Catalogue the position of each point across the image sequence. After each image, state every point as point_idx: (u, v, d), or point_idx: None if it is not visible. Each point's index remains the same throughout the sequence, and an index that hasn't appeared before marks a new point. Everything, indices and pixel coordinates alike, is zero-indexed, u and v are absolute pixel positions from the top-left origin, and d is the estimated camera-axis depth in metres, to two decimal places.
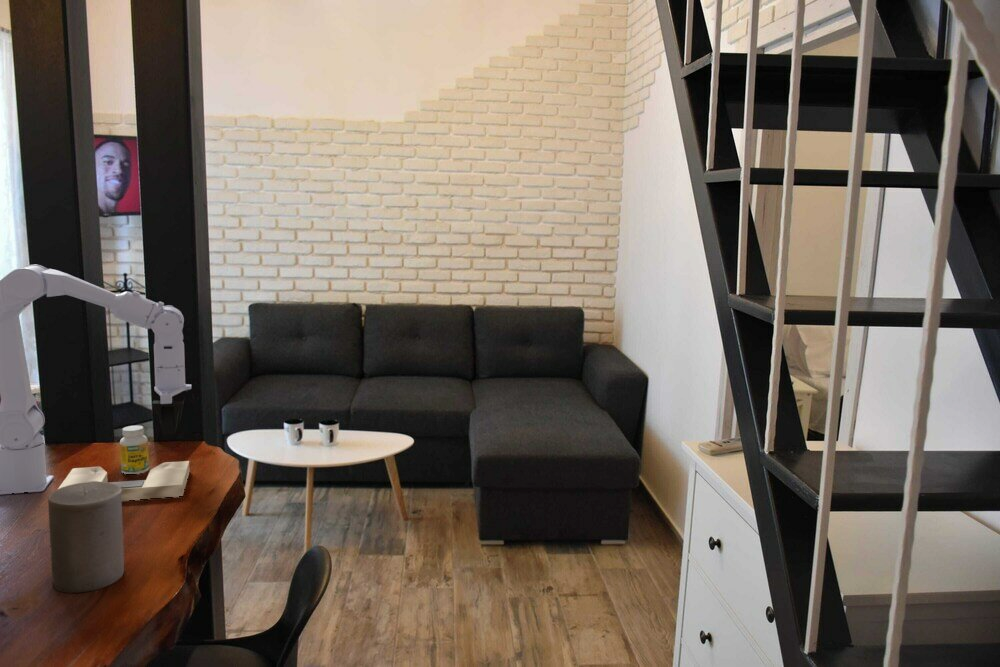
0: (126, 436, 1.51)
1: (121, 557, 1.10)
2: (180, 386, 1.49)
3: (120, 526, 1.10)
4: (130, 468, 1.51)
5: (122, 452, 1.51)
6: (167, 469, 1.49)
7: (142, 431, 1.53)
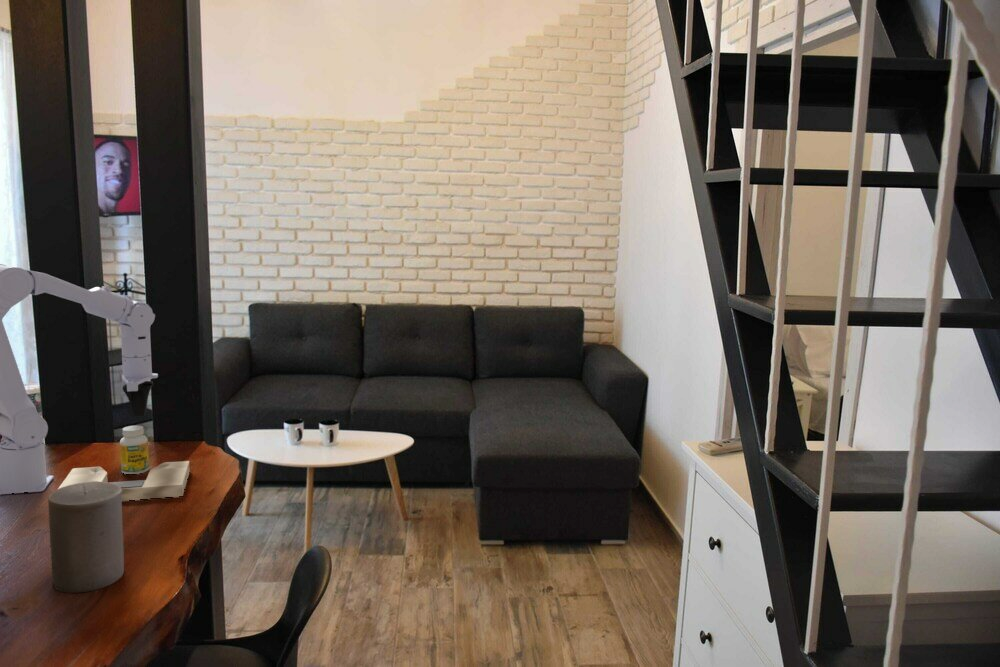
0: (126, 436, 1.51)
1: (121, 557, 1.10)
2: (146, 375, 1.57)
3: (120, 526, 1.10)
4: (130, 468, 1.51)
5: (122, 452, 1.51)
6: (167, 469, 1.49)
7: (142, 431, 1.53)
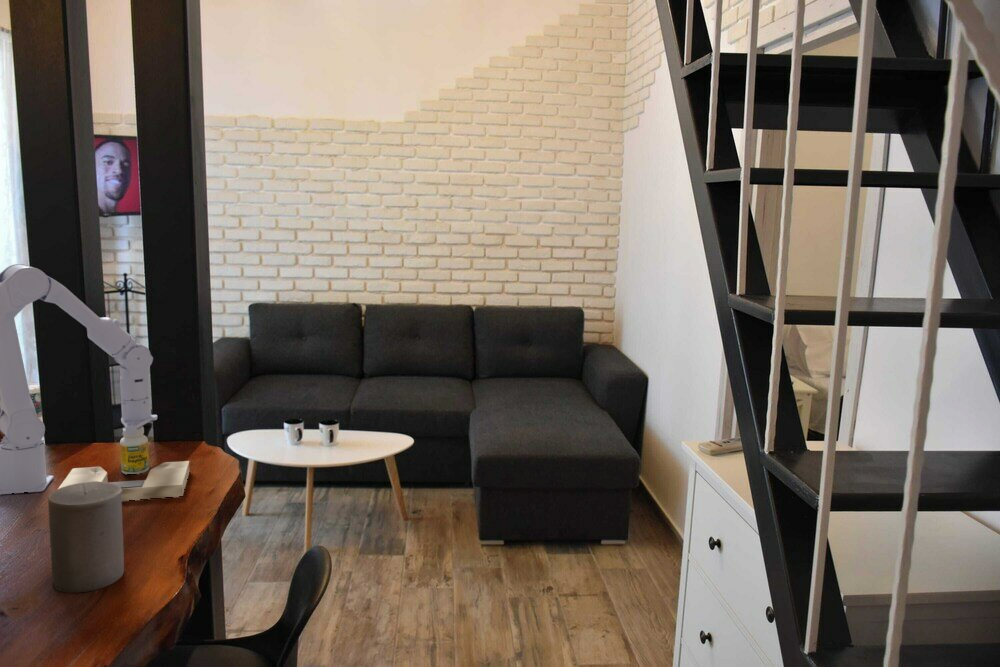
0: (126, 436, 1.51)
1: (121, 557, 1.10)
2: (146, 417, 1.55)
3: (120, 526, 1.10)
4: (130, 468, 1.51)
5: (122, 452, 1.51)
6: (167, 469, 1.49)
7: (142, 431, 1.52)
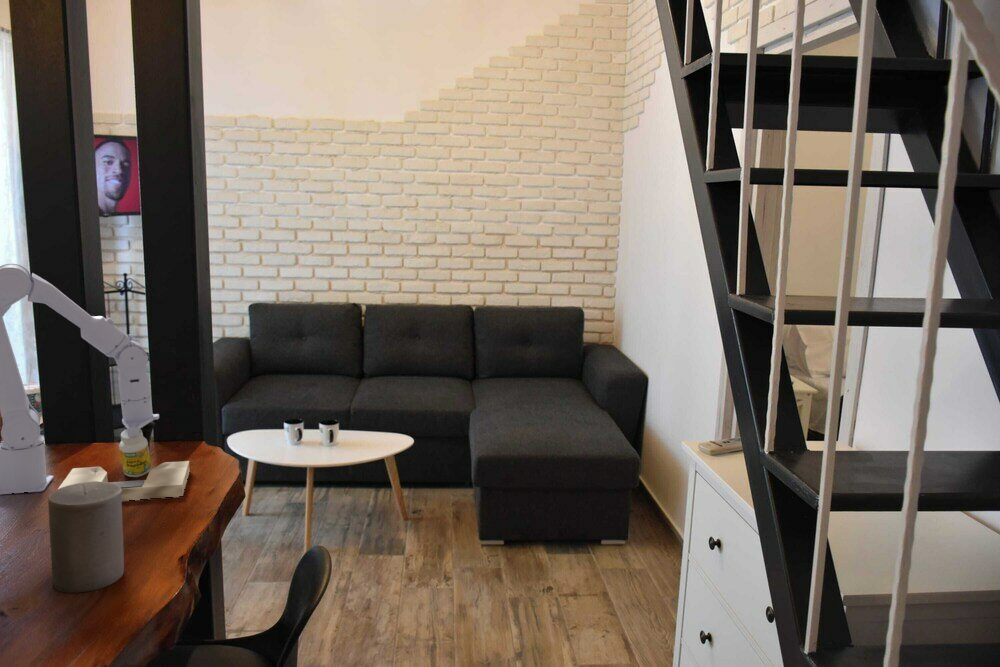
0: (124, 442, 1.47)
1: (121, 557, 1.10)
2: (147, 417, 1.52)
3: (120, 526, 1.10)
4: (129, 471, 1.50)
5: (121, 456, 1.49)
6: (167, 469, 1.49)
7: (140, 437, 1.48)
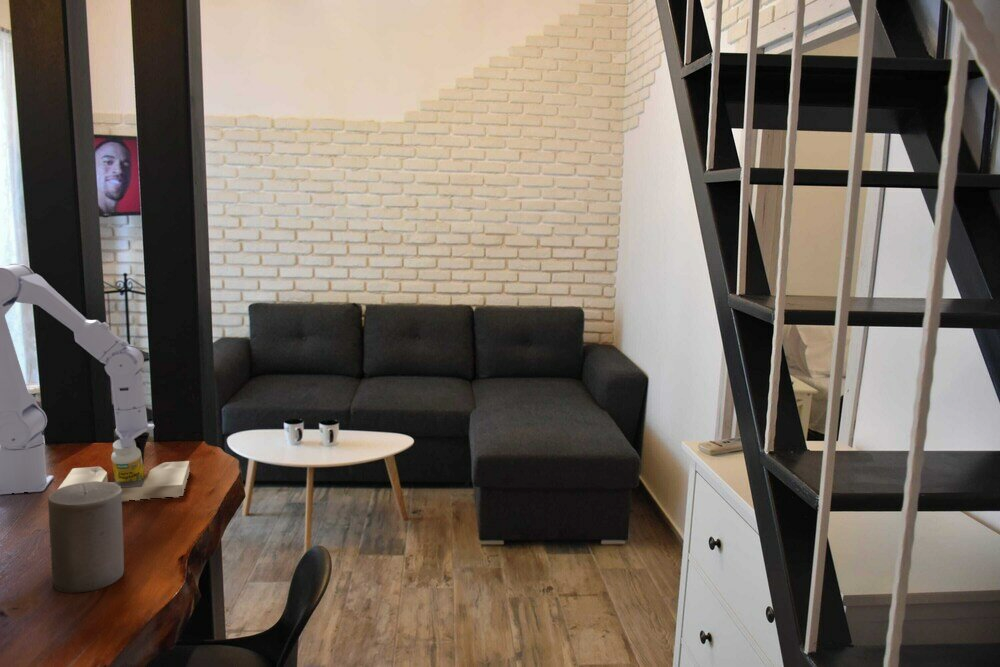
0: (116, 453, 1.41)
1: (121, 557, 1.10)
2: (142, 427, 1.46)
3: (120, 526, 1.10)
4: None
5: (113, 467, 1.42)
6: (167, 469, 1.49)
7: (133, 448, 1.42)
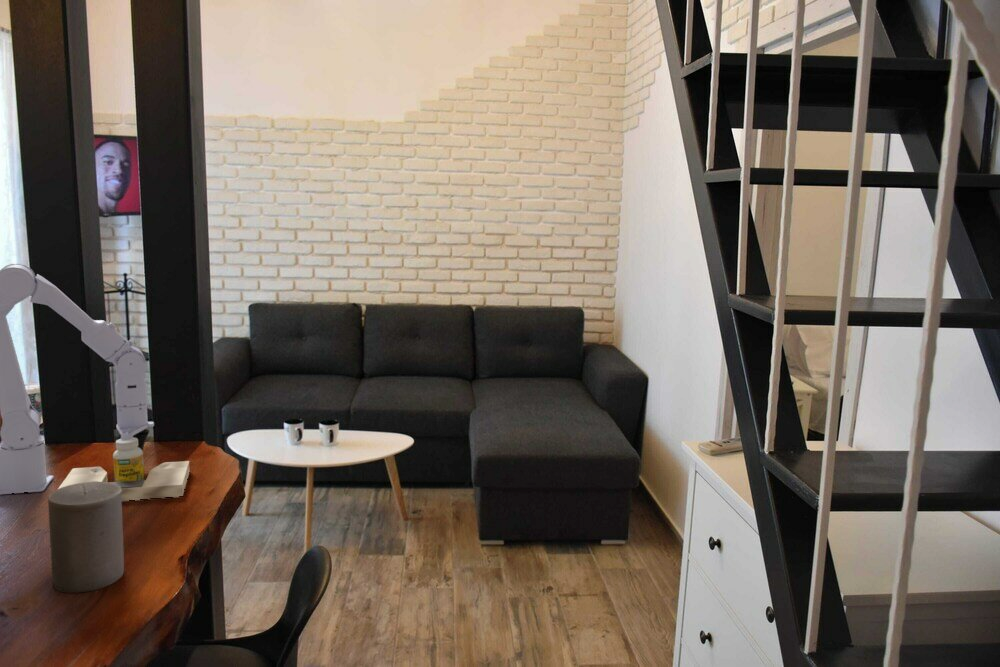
0: (118, 448, 1.43)
1: (121, 557, 1.10)
2: (142, 424, 1.51)
3: (120, 526, 1.10)
4: None
5: (114, 465, 1.43)
6: (167, 469, 1.49)
7: (135, 444, 1.44)
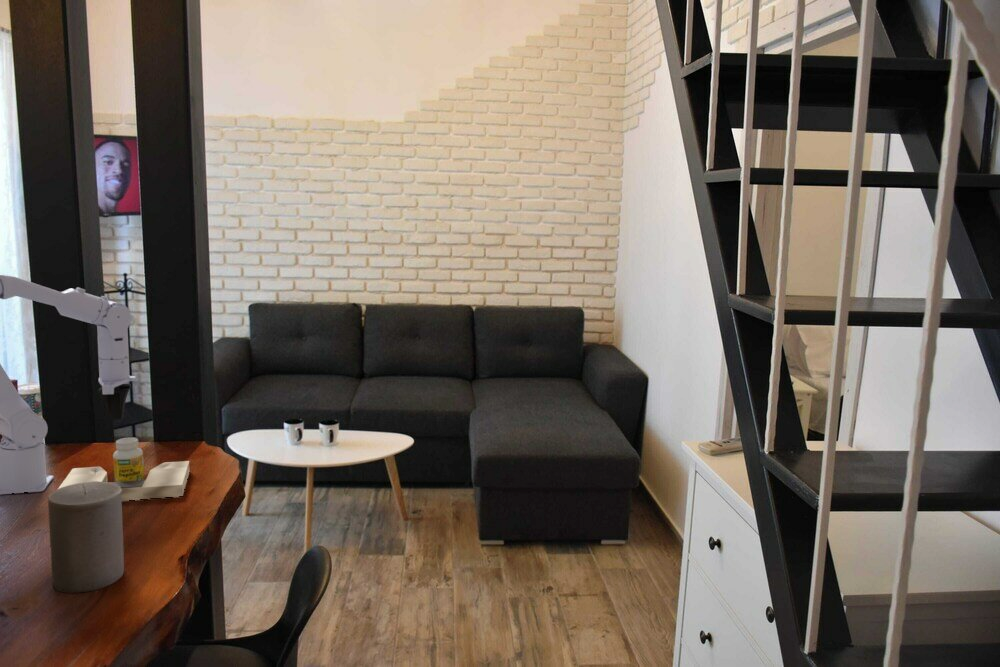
0: (118, 449, 1.43)
1: (121, 557, 1.10)
2: (124, 378, 1.53)
3: (120, 526, 1.10)
4: None
5: (114, 465, 1.43)
6: (167, 469, 1.49)
7: (135, 444, 1.44)
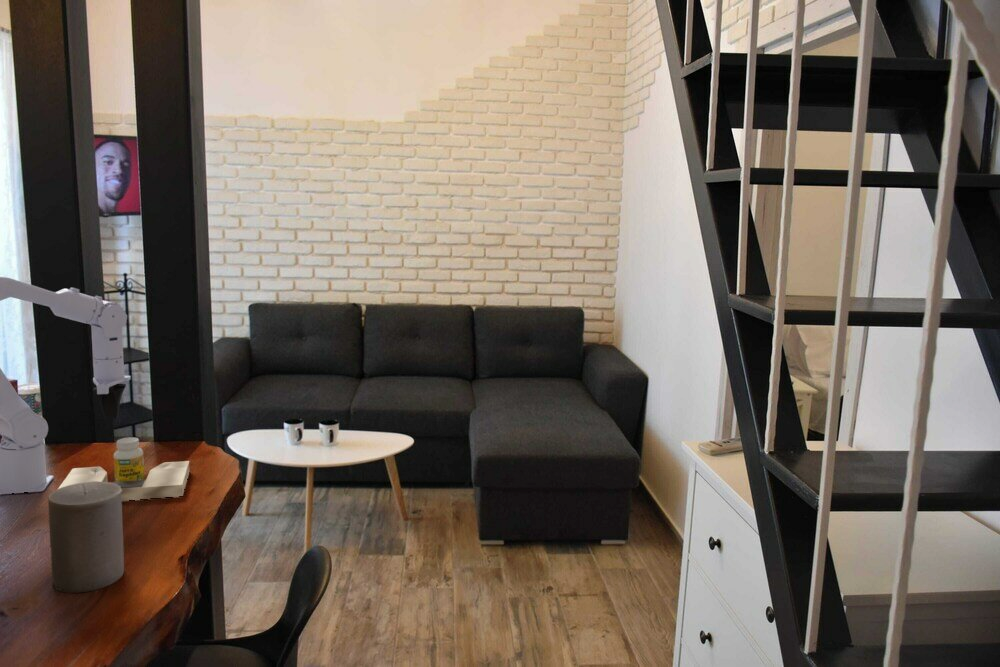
0: (119, 448, 1.43)
1: (121, 557, 1.10)
2: (118, 377, 1.53)
3: (120, 526, 1.10)
4: None
5: (115, 465, 1.43)
6: (167, 469, 1.49)
7: (136, 444, 1.44)
